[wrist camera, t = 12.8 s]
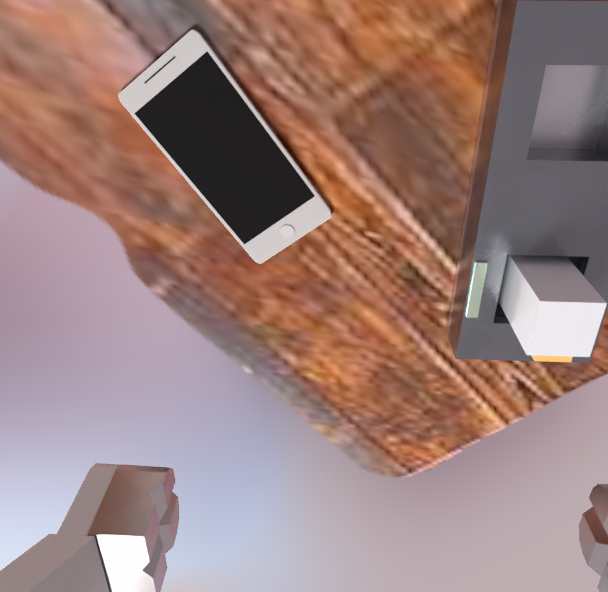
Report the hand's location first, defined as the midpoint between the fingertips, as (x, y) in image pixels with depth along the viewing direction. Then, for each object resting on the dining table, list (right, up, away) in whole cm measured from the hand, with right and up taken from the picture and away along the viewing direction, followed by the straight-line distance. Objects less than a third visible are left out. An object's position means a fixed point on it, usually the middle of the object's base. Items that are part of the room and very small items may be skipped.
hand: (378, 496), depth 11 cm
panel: (+15, +11, +29) cm, 34 cm away
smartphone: (-7, +14, +29) cm, 33 cm away
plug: (+15, +6, +31) cm, 35 cm away
